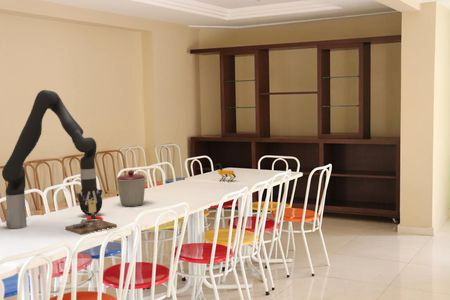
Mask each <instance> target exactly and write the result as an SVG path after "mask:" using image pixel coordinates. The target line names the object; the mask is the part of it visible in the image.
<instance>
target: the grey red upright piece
mask: <svg viewBox="0 0 450 300" xmlns="http://www.w3.org/2000/svg"><path fill="white" fill-rule="evenodd" d="M92 219H94V220H103V219H104V218H103V217H102V216H100V215H95V214H94V212H92V213H91V216H87V217H86V220H92ZM103 221H104V220H103Z"/></svg>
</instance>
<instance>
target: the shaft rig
mask: <svg viewBox="0 0 450 300" xmlns="http://www.w3.org/2000/svg"><path fill="white" fill-rule="evenodd" d="M112 227H115V228H118V227H117V223H113V222H110V221H107V220H106V221H105V220H98V219H91V220H87V218H86V219H85V218H82V220H81V221H80V223H75V224H71V225H67V226H65V230H66V231H69V232H72V233H75V234H78V235H80V236H81V235H86V234H91V233H95V232H94V231H96V232H99V231H98V230H101V231H103V230H102V229H106V230H108V229H107V228H111V229H113V228H112ZM90 232H91V233H90Z"/></svg>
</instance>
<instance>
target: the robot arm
mask: <svg viewBox="0 0 450 300" xmlns="http://www.w3.org/2000/svg"><path fill="white" fill-rule="evenodd" d="M47 110H50V111H51V112H53V113H54V114H55V115H56V116H57V118H58V119H59V122H60V124H61V126H62V128H63V130H64V131H65V132H66V133H67V135H68V137H70V138H71V140H72V143H73V145H74V148H75V149H76V150H77V151H78V152H80V153H83V156H82V157H81V158H80V160H79V164H80V165H79V166H80V186H81V189H80V192H76V194H75V195H76V197H77V199H78V202H79V205H80V204H83V205H84V211H85V212H88V205H87V203H88V200H89V198H90V197H91V199H93V200H96V209H97V202H98V201H100V199H101V197H102V193H103V189H98V187H97V172H96V165H95V164H96V163H95V158H96V153H97V146H98V145H97V141H96V140H95V139H94V138H93V137H84V136H83V134H84V130H83V128H82V127H81V126H80V124H78V122H77V121H76V120H75V119H74V117H73V116H72V115H71V113H70V112H69V110H68V109H67V107H66V106H65V104H64V103H63V101H62V99H61V97H60V96H59V94H58V93H57V92H55V91H53V90H47V89H43V90H40V91H39V92H38V93H37V94H36V96H35V99H34V101H33V104H32V108H31V110H30V113H29V115H28V118H27V119H26V122H25V125H24V126H23V128H22V130H21V133H20V135H19V136H18V139H17V142H16V143H15V146H14V149H13V150H12V152H11V154H10V156H9V158H8V160H7V162H6V163H5V164H4V166H3V168H2V171H1V175H2V176H1V177H2V179H3V180H4V181H5V182H7V186H6V188H5V199H6V200H5V203H6V208H5V210H4V211H5V220H6V221H5V222H6V223H5V224H6V228H9V229H21V228H24V227H27V226H28V223H27V207H26V194H25V188H26V171H25V170H26V169H25V167H24V163H25V161H26V159H27V158H28V157H29V155H30V154H31V153H32V151H33V150H34V149H35V147H36V145H37V144H38V142H39V139H40V137H41V135H42V132H43V131H42V129H43V126H42V125H43V118H44V116H45V114H46V112H47ZM96 192H97V196H96V195H95V194H96ZM82 194H83V195H84V196H83V199H82Z"/></svg>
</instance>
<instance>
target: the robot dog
mask: <svg viewBox="0 0 450 300" xmlns="http://www.w3.org/2000/svg"><path fill="white" fill-rule="evenodd" d="M216 166H219V169H218V170H217V172H218V174H219V175H220V176H221V179H220V180H219V182H221V181H223V182H224V181H225V180H226V178H228V176H229V177H230V178H229V180H228V181H227V183H229V182H232V181H233V180H234V179H235V178H236V177H237V175H236V174H235V173H234V170H229V169H223V167H222V165H221V163H220V162H219V163H217V164H213V167H216Z"/></svg>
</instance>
